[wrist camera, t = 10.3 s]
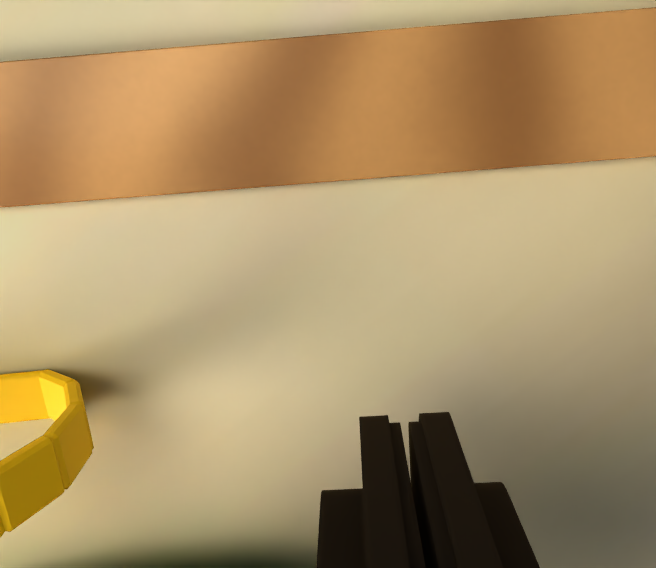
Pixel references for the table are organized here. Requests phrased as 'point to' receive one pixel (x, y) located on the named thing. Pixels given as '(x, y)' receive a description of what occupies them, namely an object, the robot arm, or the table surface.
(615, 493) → the table surface
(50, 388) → the watch
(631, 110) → the ruler
